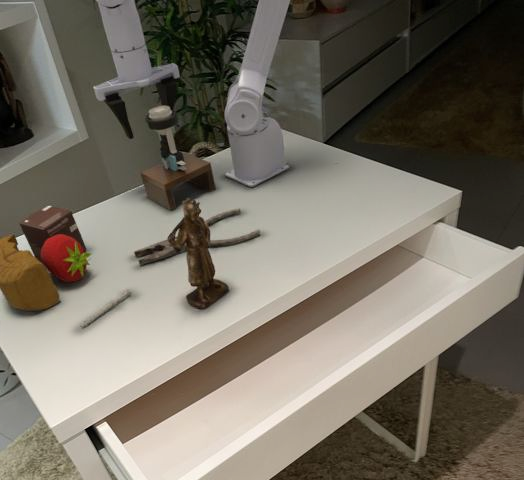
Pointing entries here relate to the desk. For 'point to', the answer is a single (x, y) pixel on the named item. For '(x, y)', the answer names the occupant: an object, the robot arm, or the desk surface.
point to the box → (49, 228)
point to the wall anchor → (104, 309)
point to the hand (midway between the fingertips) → (150, 130)
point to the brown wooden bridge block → (176, 179)
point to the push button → (166, 136)
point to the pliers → (169, 249)
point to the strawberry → (64, 258)
